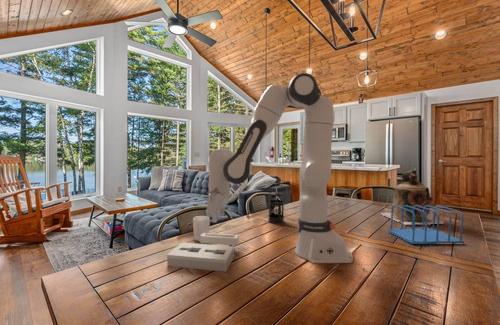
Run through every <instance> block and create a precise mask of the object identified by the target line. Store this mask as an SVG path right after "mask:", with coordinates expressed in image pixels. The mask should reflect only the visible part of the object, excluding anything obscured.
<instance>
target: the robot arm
mask: <svg viewBox="0 0 500 325" xmlns="http://www.w3.org/2000/svg"><path fill="white" fill-rule="evenodd" d="M287 108H292V109H297V110H298V109H300V110H301V109H304V110H303V111H304V113H305V119H304V128H303V129H304V130H303V140H302V160H301V165H300V168H299V217H298V221H297V231H298V234H297V235H298V236H297V242H296V246H295V249H294V252H295V254H296V256H298V257H300V258H303V259H305V260H307V261H309V262H311V263H313V264H351V263H353V261H354V256H353V254H352V252H351V251H350V249H348V247H347V244H346V243H347V242H346V241H345V239H344V238H343V237H342V236H341V235H339V233H337V232H336V231H334V230H335V229H336V226H335V224H334V223H333V222H332V221H331V220H330V219H329V220H328V207H329V206H328V205H329V202H328V201H329V200H328V193H327V184H328V183H329V182H330V181H331V178H332V141H333V139H332V138H333V132H334V131H333V130H334V117H335V116H334V113H335V112H334V104H333V101H332V99H331V98H329V97H328V96H323V95H322V92H321V89H320V86H319V85H318V83H317V79H316V78H315V77H314V76H313V75H312V74H310V73H307V72H300V73H298V74H296V75H295V76H293V77H292V78H291V79H290V81H289V84H288V86H282V85H279V84H270V85H269V86H268V87H267V88H266V90H265V91H264V92H263V93H262V94H261V96H260V99H258V102H257V103H256V105H255V108H254V110H253V112H252V114H251V118H250V122H249V124H248V128H247V130H246V133H245V135H244V137H243V139H242V140H241V143H240V144H239V147H238V148H237V151H236V152H233V151H232V150H231V149H229V148H227V147H223V148H222V147H221V148H216V149H213V150H212V151H211V152H210V154H209V162H208V171H209V176H208V191H209V192H210V193H208V196H207V203H206V204H207V205H206V212H207V213H208V214H211V218H212V220H211V221H212V223H215V224H216V223H217V222H218V216H219V217H224V215H225V209H226V205H228V204H229V203H230V202H229V201H230V195H231V194H230V192H231V189H232V185H233V184H234V185H240V184H242V183H244V182H245V181H247V180H248V178H249V176H250V175H251V174H252V172H253V164H252V159H253V157H254V155H255V153H256V151H257V149H258V147H259V145H260V144H261V142H262V140H264V138H265V137H267V135H269V134H271V132H272V131H273V130H274V129H275V127H276V126H277V125H278V124H279V121H280V120H281V117H282V115H283V114H284V112H285V110H286V109H287ZM218 214H219V215H218Z"/></svg>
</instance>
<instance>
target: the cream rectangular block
mask: <svg viewBox="0 0 500 325" xmlns="http://www.w3.org/2000/svg"><path fill="white" fill-rule="evenodd" d="M239 240H240V236H239V234H230V233H229V234H226V233H224V234H223V233H215V232H214V233H210V232H209V233H203V234H201V235H200V241H199V244H208V245H221V246H234V247H236V246H238V244H239Z"/></svg>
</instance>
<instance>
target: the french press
mask: <svg viewBox="0 0 500 325" xmlns="http://www.w3.org/2000/svg"><path fill="white" fill-rule="evenodd" d="M272 184H273V185H275V191H272V192H268V194H269V198H271V199H270V200H269V201H268V223H269V224H278V223H279V224H283V223H285V219H284V218H285V216H284V205H285V202H284V200H279V199H277V198H278V197H282V198H284V195H285V193H284V192H280V191H278V185H281V183H280V182H273V183H272ZM274 198H275V199H274ZM279 224H278V225H279Z"/></svg>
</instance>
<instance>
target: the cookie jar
mask: <svg viewBox="0 0 500 325" xmlns="http://www.w3.org/2000/svg"><path fill="white" fill-rule="evenodd" d="M401 179H402V183H400V184H394V185H393V186H392V187H393V190H394V193H393V199H392V207H393V206H394V205H397V206H400V207H403V206H404V205H407V206H411V207H414V206H415V205H418V206H422V207H424V206H425V205H429V206H431V205H432V203H433V201H434V198H433V197H432V196H431V193H430V188H429V187H427V186H425V185H424V184H423V183H421V182H420V181H419V180H418V175H417V168H415V167H414V169H412V170H405V171H404V172H403V173H402V175H401ZM407 206H405V207H404V208H405V209H408V210H411V211H413V208H410V207H407ZM415 208H417V209H420V210H423V208H421V207H417V206H416V207H415ZM425 208H428V209H431V207H428V206H426V207H425ZM405 209H404V211H403V221H407V222H404V223H403V224H405V225H407V226H412V215H413V214H412V212H410V211H407V210H405ZM391 213H392V212H380V215H381V216H383V217H384V216H385V218H387V219H389V218H390V219H389V220H391ZM425 213H426V214H427V226H432V225H431V224H433V218H431V217H428V215H429V214H430V213H431V211H430V210H427V209H425ZM414 214H415V226H417V225H419V226H422V222H423V212H421V211H419V210H416V209H414ZM425 219H426V217H425V214H424V226H425ZM394 220H395V221H394ZM400 220H401V221H402V208H399V207H396V206H395V207H394V208H393V221H394V222H396V221H397V222H396V223H398V222H399V221H400ZM437 220H438V219H435V223H434V224H437ZM444 223H445V221H443V220H440V219H439V224H442V225H444ZM405 225H404V226H405Z"/></svg>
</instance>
